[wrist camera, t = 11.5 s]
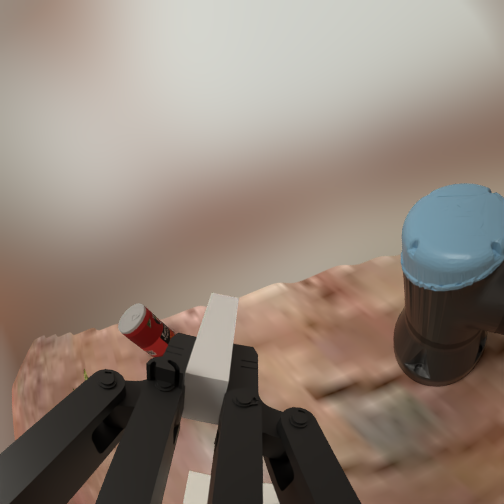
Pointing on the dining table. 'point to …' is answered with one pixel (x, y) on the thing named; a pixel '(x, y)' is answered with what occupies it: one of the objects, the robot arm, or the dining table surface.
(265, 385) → the dining table surface
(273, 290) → the dining table surface
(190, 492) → the mat
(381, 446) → the dining table surface
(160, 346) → the canned food
